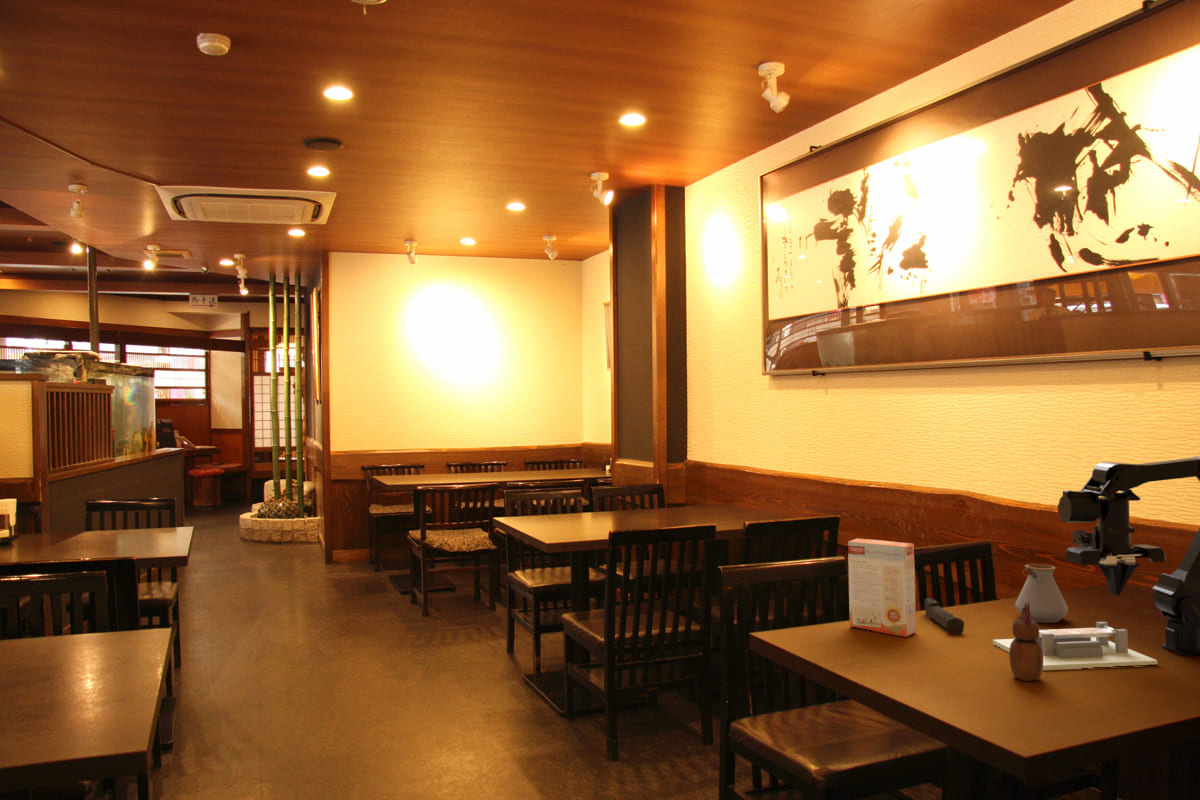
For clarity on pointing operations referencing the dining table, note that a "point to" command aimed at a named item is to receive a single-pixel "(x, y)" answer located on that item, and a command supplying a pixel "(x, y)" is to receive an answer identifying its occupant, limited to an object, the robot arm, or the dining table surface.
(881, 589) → the cracker box
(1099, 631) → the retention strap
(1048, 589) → the coffee pot
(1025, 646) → the wooden figurine
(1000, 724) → the dining table surface
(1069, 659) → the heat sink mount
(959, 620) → the hand tool
